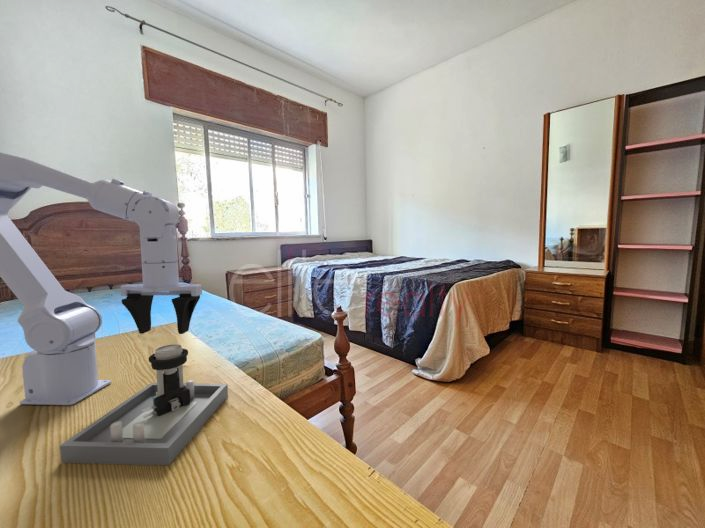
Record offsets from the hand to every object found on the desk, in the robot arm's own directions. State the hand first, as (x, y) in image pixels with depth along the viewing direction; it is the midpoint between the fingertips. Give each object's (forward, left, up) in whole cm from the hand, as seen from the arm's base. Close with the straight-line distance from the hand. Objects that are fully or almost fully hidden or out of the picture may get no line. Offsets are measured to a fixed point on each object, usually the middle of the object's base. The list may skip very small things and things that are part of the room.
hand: (164, 332), depth 56 cm
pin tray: (+7, -12, -10) cm, 17 cm away
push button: (+7, -10, -10) cm, 15 cm away
